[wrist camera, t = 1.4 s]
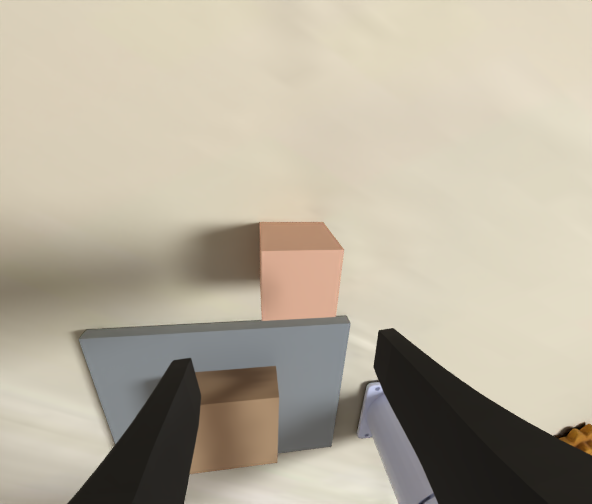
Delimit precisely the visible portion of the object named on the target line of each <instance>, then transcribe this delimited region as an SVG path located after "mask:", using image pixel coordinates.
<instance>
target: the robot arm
mask: <svg viewBox="0 0 592 504" xmlns="http://www.w3.org/2000/svg"><path fill="white" fill-rule="evenodd" d="M374 369H375V372H376V375H377V377H378V380H379V382H374V383H369V384H368V385H367V387H366V391H365V396H364V401H363V406H362V411H361V415H360V420H359V425H358V430H357V436H358V438H370V437H373V439H374V442H375V445H376V447H377V450H378V452H379V455H380V457H381V460H382V463H383V465H384V468H385V470H386V473H387V475H388V478H389V481H390V483H391V486H392V488H393V491H394V493H395V496H396V499H397V501H398V504H592V455H590V454H588V453H586V452H584V451H582V450H580V449H578V448H576V447H574V446H572V445H570V444H568V443H566V442H564V441H562V440H560V439H558V438H556V437H554V436H552V435H550V434H549V433H547V432H545V431H543V430H541V429H539V428H538V427H536V426H534V425H532V424H530V423H528V422H527V421H525V420H523V419H521V418H520V417H518V416H516V415H514V414H513V413H511V412H509V411H508V410H506V409H504V408H503V407H501V406H500V405H498V404H496V403H495V402H493V401H491V400H490V399H488V398H487V397H485V396H484V395H482V394H480V393H479V392H477V391H476V390H474V389H473V388H472V387H470V386H469V385H467V384H466V383H464V382H463V381H461V380H460V379H459V378H457V377H456V376H454V375H453V374H452V373H450V372H449V371H447V370H446V369H445V368H443V367H442V366H441V365H439V364H438V363H437V362H435V361H434V360H433V359H431V358H430V357H429V356H428V355H426V354H425V353H424V352H423V351H421V350H420V349H419V348H417V347H416V346H415V345H414V344H412V343H411V342H410V341H409V340H407V339H406V338H405V337H404V336H402V335H401V334H400V333H399V332H397V331H396V330H395V329H393V328H391V329H384V330H379V332H378V339H377V346H376V353H375V360H374ZM200 406H201V392H200V389H199V385H198V381H197V378H196V374H195V370H194V367H193V363H192V359H191V358H185V359H178V360H173V361H172V362H171V364H170V365H169V367H168V368H167V370H166V372H165V373H164V375H163V376H162V378H161V380H160V381H159V383H158V384H157V386H156V387H155V389H154V390H153V392H152V394H151V395H150V397H149V398H148V400H147V401H146V403H145V404H144V405H143V407H142V408H141V410H140V411H139V413H138V414H137V416H136V417H135V419H134V420H133V421H132V423H131V424H130V426H129V427H128V428H127V430H126V431H125V432H124V434H123V435H122V436H121V438H120V439H119V440H118V442H117V443H116V444H115V446H114V447H113V448H112V450H111V451H110V452H109V454H108V455H107V456H106V458H105V459H104V460H103V461H102V463H101V464H100V465H99V467H98V468H97V469H96V470H95V471H94V473H93V474H92V475H91V476H90V478H89V479H88V480H87V481H86V482H85V484H84V485H83V486H82V487H81V488H80V490H79V491H78V492H77V493H76V494H75V496H74V497H73V498H72V499H71V500H70V501H69V502H68V504H184V500H185V495H186V490H187V485H188V479H189V474H190V469H191V464H192V459H193V454H194V448H195V443H196V438H197V432H198V427H199V418H200Z"/></svg>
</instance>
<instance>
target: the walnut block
mask: <svg viewBox="0 0 592 504" xmlns="http://www.w3.org/2000/svg"><path fill="white" fill-rule="evenodd" d="M195 374H196V378H197V381H198V385H199V389H200V392H201V406H200V418H199V427H198V432H197V438H196V443H195V448H194V454H193V459H192V464H191V469H190V474H194V473H202V472H210V471H217V470H225V469H232V468H240V467H248V466H255V465H263V464H270V463H277V454H278V420H279V391H278V381H277V371H276V366H267V367H255V368H242V369H229V370H217V371H204V372H195Z"/></svg>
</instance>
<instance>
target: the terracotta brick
mask: <svg viewBox="0 0 592 504" xmlns="http://www.w3.org/2000/svg"><path fill="white" fill-rule="evenodd" d="M259 227H260V290H261V311H262V321H270V320H289V319H307V318H326V317H336V310H337V302H338V294H339V286H340V278H341V270H342V262H343V254H344V249H343V248H342V246H341V245H340V244H339V242H338V241H337V240H336V238H335V237H334V236H333V235H332V233H331V232H330V231H329V229H328V228H327V227H326V225H325V224H324V223H323V222H259Z"/></svg>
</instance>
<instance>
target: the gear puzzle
mask: <svg viewBox="0 0 592 504" xmlns="http://www.w3.org/2000/svg"><path fill="white" fill-rule="evenodd" d="M559 439H560V440H562V441H564V442H566V443H568V444H570V445H572V446H574V447H576V448H578V449H580V450H582V451H584V452H586V453H588V454H590V455H592V425H591V424H587V425H586V426H584V427H583V428H581V429H580V430H578V429H575V428H574V429H572V430H571V431H570V432H569V434H568V435H567V436H565V437H561V438H559Z"/></svg>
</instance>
